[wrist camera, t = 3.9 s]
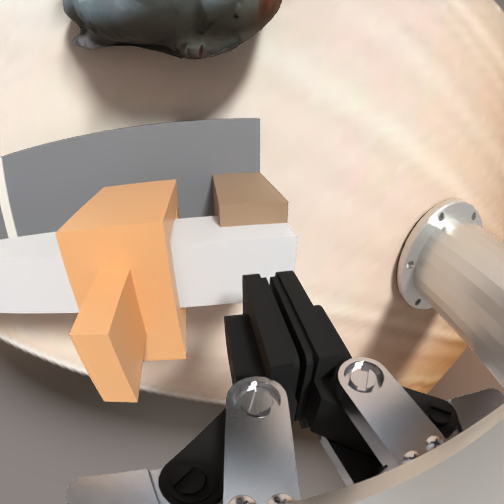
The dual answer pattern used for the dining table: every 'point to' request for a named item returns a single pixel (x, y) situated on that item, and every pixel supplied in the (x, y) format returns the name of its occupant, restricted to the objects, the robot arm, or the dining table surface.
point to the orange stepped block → (124, 284)
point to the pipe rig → (138, 171)
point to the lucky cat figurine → (170, 24)
